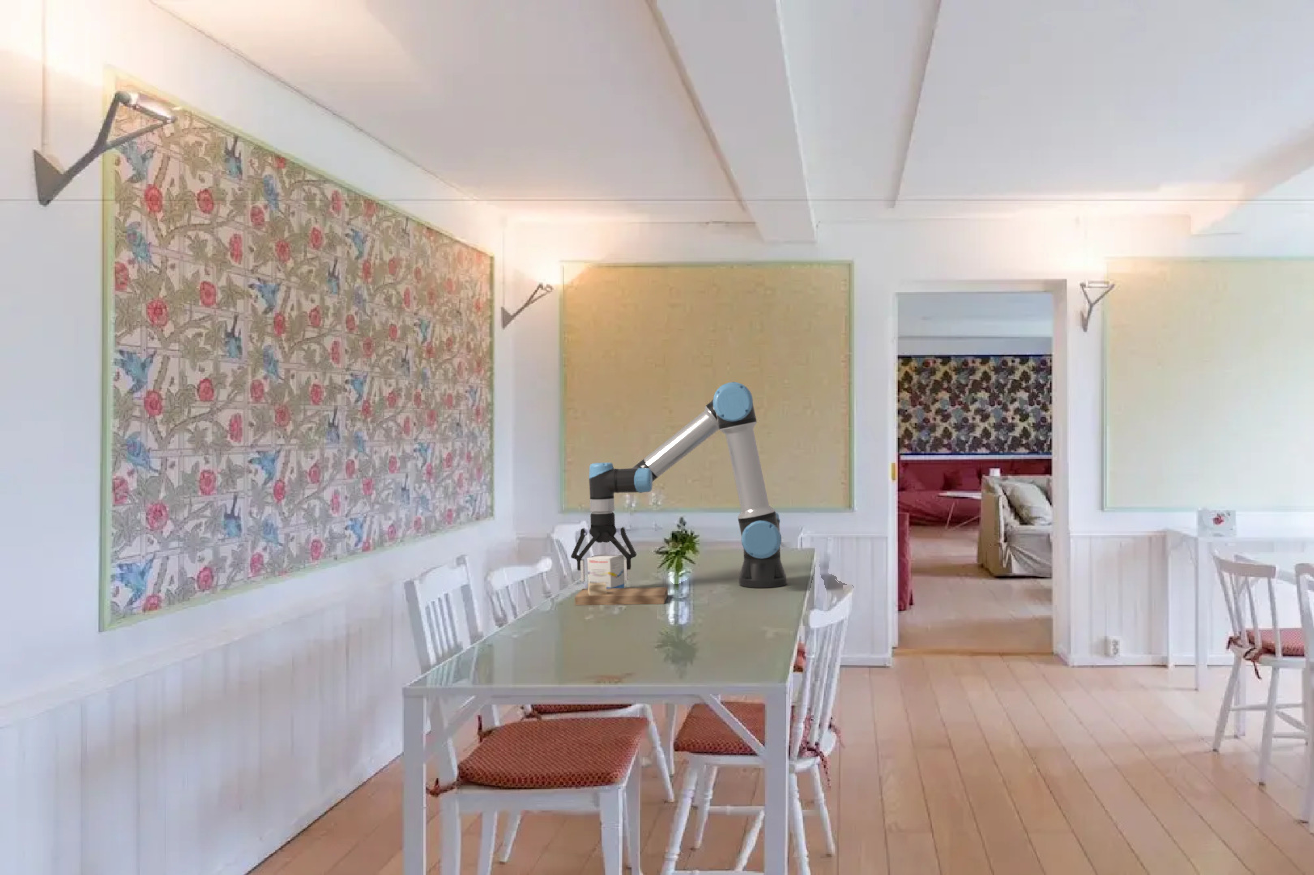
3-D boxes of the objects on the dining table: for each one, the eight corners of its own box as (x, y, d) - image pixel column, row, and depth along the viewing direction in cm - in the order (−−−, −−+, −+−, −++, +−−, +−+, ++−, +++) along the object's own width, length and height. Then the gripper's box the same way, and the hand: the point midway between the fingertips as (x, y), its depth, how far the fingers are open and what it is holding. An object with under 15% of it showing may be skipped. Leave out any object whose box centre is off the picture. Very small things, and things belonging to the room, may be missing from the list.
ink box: (625, 591, 318) (624, 554, 318) (611, 596, 311) (610, 558, 311) (602, 590, 322) (601, 553, 322) (587, 594, 315) (586, 556, 315)
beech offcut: (605, 592, 303) (604, 582, 303) (606, 594, 299) (606, 584, 299) (588, 593, 302) (588, 583, 302) (589, 595, 298) (589, 585, 298)
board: (667, 595, 309) (667, 586, 308) (663, 603, 295) (663, 594, 295) (583, 596, 311) (582, 588, 311) (575, 605, 297) (575, 596, 297)
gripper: (643, 510, 318) (645, 578, 318) (565, 512, 320) (567, 579, 320) (641, 512, 310) (643, 581, 311) (560, 514, 313) (562, 583, 313)
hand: (604, 580), depth 316 cm, fingers open, 13 cm apart
